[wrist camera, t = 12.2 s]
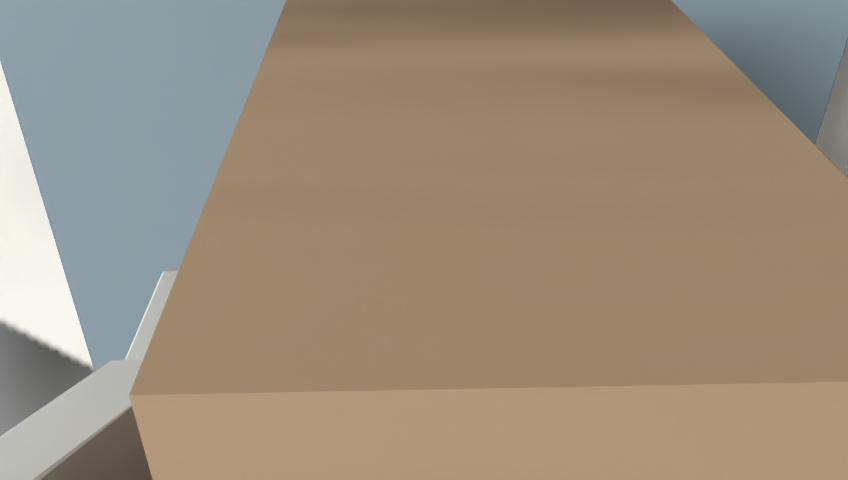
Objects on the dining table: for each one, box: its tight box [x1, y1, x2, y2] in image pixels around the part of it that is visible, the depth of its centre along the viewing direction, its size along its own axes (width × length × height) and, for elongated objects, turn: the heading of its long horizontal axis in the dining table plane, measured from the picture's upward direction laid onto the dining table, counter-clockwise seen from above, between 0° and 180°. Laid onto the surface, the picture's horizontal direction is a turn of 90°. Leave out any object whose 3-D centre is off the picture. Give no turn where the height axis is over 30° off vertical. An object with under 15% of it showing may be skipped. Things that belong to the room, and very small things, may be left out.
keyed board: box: [0, 0, 848, 371], centre depth 17 cm, size 18×18×4 cm
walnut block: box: [129, 0, 848, 480], centre depth 9 cm, size 7×4×8 cm, turn 0°
